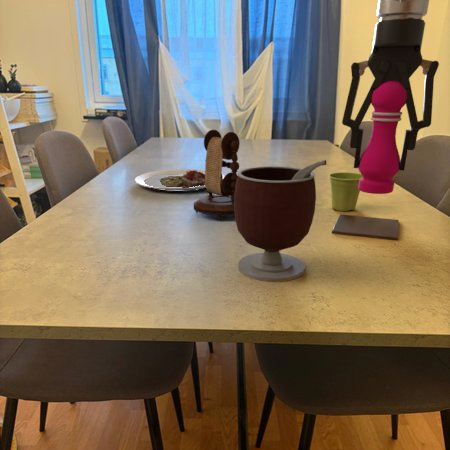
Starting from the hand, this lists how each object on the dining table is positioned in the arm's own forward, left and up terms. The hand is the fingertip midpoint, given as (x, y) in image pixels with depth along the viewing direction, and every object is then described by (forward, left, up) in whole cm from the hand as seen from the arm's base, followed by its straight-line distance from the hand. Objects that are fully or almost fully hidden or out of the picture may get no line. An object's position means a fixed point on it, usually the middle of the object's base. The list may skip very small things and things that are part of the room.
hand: (378, 167), depth 79 cm
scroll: (+37, -17, -17) cm, 44 cm away
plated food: (+62, -45, -17) cm, 78 cm away
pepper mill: (0, 0, -4) cm, 4 cm away
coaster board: (+1, -17, -17) cm, 24 cm away
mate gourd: (+15, +14, -17) cm, 27 cm away
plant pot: (+8, -32, -17) cm, 37 cm away
